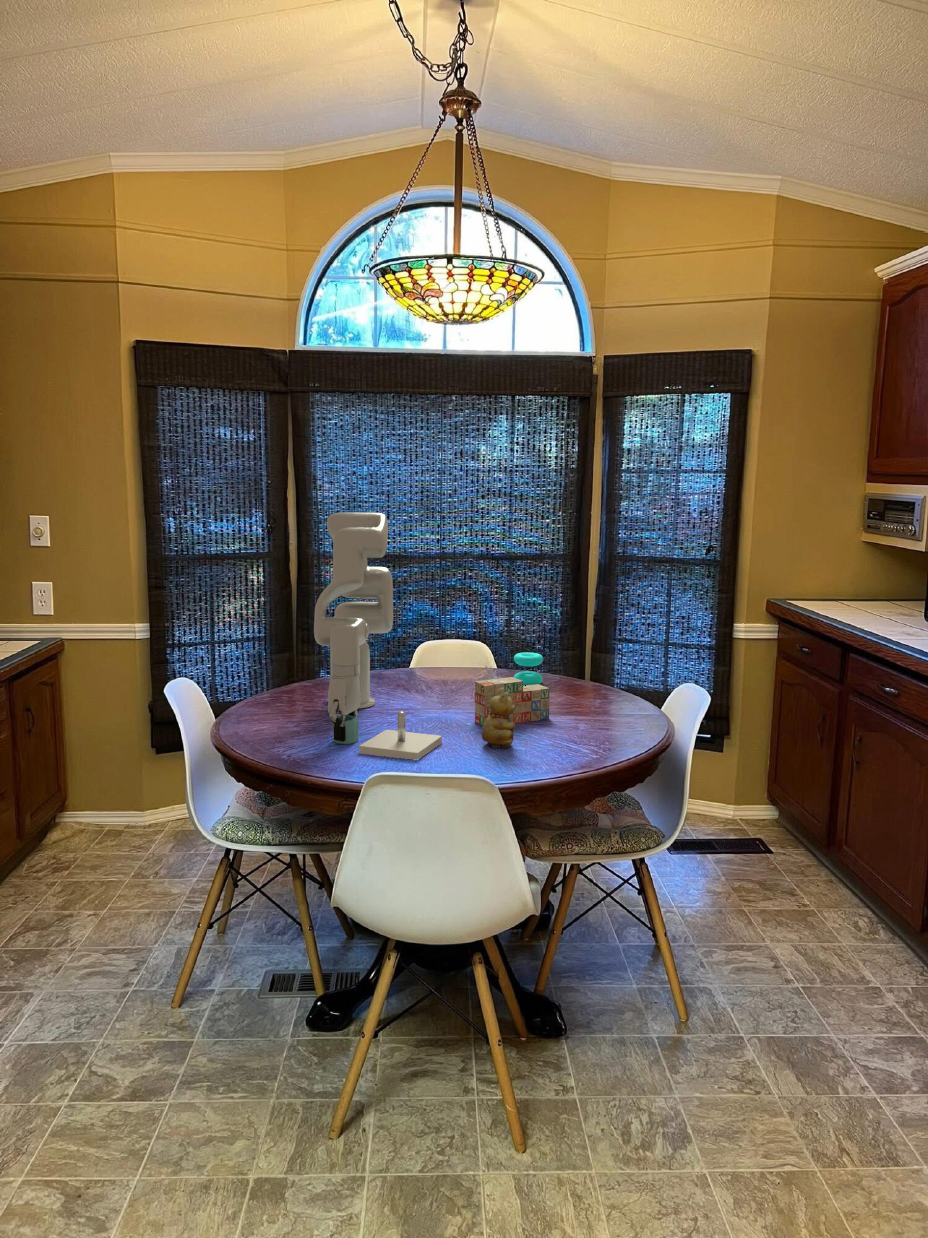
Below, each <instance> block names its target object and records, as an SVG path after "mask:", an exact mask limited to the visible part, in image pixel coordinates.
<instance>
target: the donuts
mask: <svg viewBox="0 0 928 1238" xmlns="http://www.w3.org/2000/svg"><path fill="white" fill-rule="evenodd" d="M513 661H514V662H515V663H516V664H517V665H519V666H522V667H536V666H539V665H541V664H542V663H543V662H544V657H543V656H542V654H540V653H537V652H527V651H526V652H519V653H516V654H515V655H514V656H513ZM513 678H516V679H518V680H521V681H523V686H525V685H536V684H539V685H541V684H542V682H543V680H544V679H543V676H542V675H541V674H540V673H538V672H537V671H536V672H535V671H531V670H530V671H525V670H524V671H519V672H517V673H515V674H514V675H513Z"/></svg>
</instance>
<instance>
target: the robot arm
mask: <svg viewBox="0 0 928 1238" xmlns="http://www.w3.org/2000/svg"><path fill="white" fill-rule="evenodd" d="M326 527H327V528H326V529H327V532H328V533H329V536H330V538H331V540H332V543H333V547H332V548H333V549H332V578H331V579H332V580H331V582H330V583H329V584H328V585H327V587H325V588H324V589H323V591H322V592H321V593H320V595H319V597H318V598H317V601H316V603H315V608H314V622H313V634H314V635H313V636H314V640H315V642H316V643H317V644H318V645H320V646H326V647H329V650H330V652H329V653H330V659H329V660H330V679H329V686H328V690H327V696H328V697H327V698H328V699H327V712H328V714H329V719H330V720H331V722H332V726H334V740H336V741H345V740H346V726H344V722H345V716H346V715H350V716H356V717H357V718H358V719H359V712H360V709H366V708H370V707H372V706H374V705H376V700H375V699H374V698H373V697H371V684H370V683H371V682H370V681H371V680H370V679H371V673H370V671H371V670H370V668H371V667H370V663H371V661H370V660H371V659H370V658H371V657H370V654H371V653H370V652H371V651H370V650H371V649H370V646H369V643H368V642H367V639H368V638H369V634H386V633H387V634H388V633H389V632H390V631H392V628H393V626H394V589H393V588H394V587H393V577H392V573H391V571H390V570H389V568H387V567H384V566H368V559H381V558H383V557H384V556H385V555H386V552H387V548H388V541H389V540H388V539H389V538H388V537H389V521H388V518H387V516H386V515H385V514H384V513H381V512H359V511H358V512H355V511H352V512H350V511H349V512H347V511H346V512H345V511H343V512H341V511H340V512H335V513H332V514H330V515H328V517H327V519H326ZM341 596H342V597H344V598H346V599H347V598H348V599H375V600H376V601H347V602H341V603H340V604H338V605H337V606H336V608H335V609H334V617H331V616H330V617H326V611H327V608H328V606H329V605H330V604H331V603H332V602H333V601H334V600H336V599H337V598H339V597H341ZM340 713H341V714H340ZM338 716H339V717H341V720H340V719H339V718H338Z"/></svg>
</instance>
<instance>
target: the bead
mask: <svg viewBox="0 0 928 1238" xmlns="http://www.w3.org/2000/svg"><path fill="white" fill-rule="evenodd" d="M338 718H339V719H340V720H341V717H339V716H338ZM332 726H333V725H332ZM344 726H346V740H345V741H336V740H334V726H333V729H332V731H333V732H332V733H333V734H332V735H333V737H332V738H333V741H334V743H336V744H341V745H350V744H355V743H356V742H358V741H359V717H358V718H357V717H356V716H350V715H346V716H345V722H344Z"/></svg>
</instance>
